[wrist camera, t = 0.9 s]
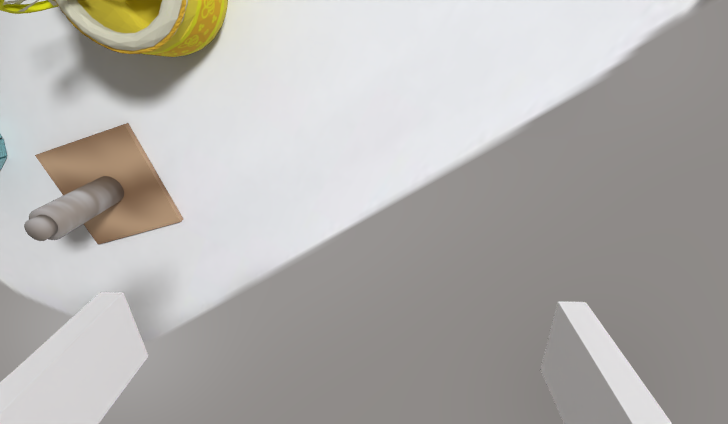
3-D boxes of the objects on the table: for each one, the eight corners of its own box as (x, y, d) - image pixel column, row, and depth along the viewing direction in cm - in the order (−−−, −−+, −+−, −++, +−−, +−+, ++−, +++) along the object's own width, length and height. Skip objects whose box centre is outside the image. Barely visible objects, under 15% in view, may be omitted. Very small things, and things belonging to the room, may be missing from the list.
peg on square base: (40, 153, 38) (-62, 188, 30) (128, 123, 36) (46, 151, 28) (101, 241, 43) (28, 294, 34) (183, 219, 41) (127, 269, 32)
